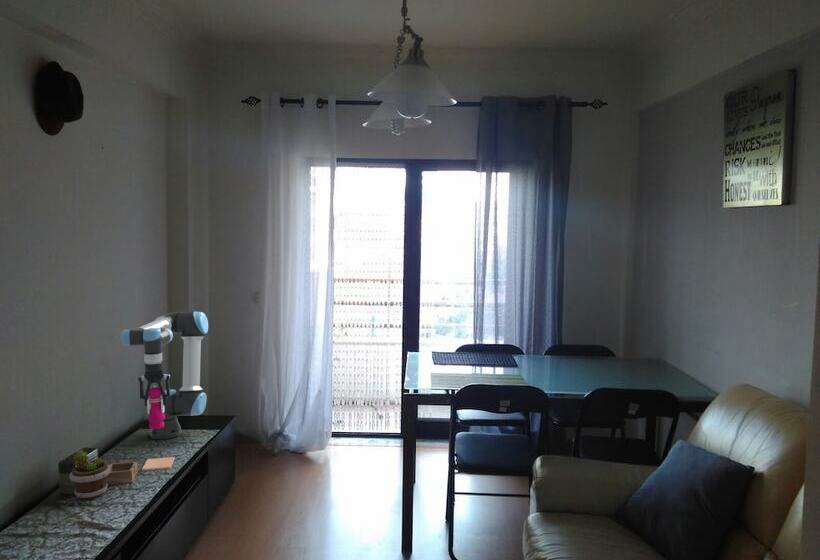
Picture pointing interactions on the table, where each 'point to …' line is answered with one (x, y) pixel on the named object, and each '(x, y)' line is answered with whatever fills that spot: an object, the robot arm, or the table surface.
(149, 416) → the pepper mill
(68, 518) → the table surface
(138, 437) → the table surface
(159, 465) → the plate
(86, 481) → the flowerpot
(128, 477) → the wooden box
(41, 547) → the table surface
